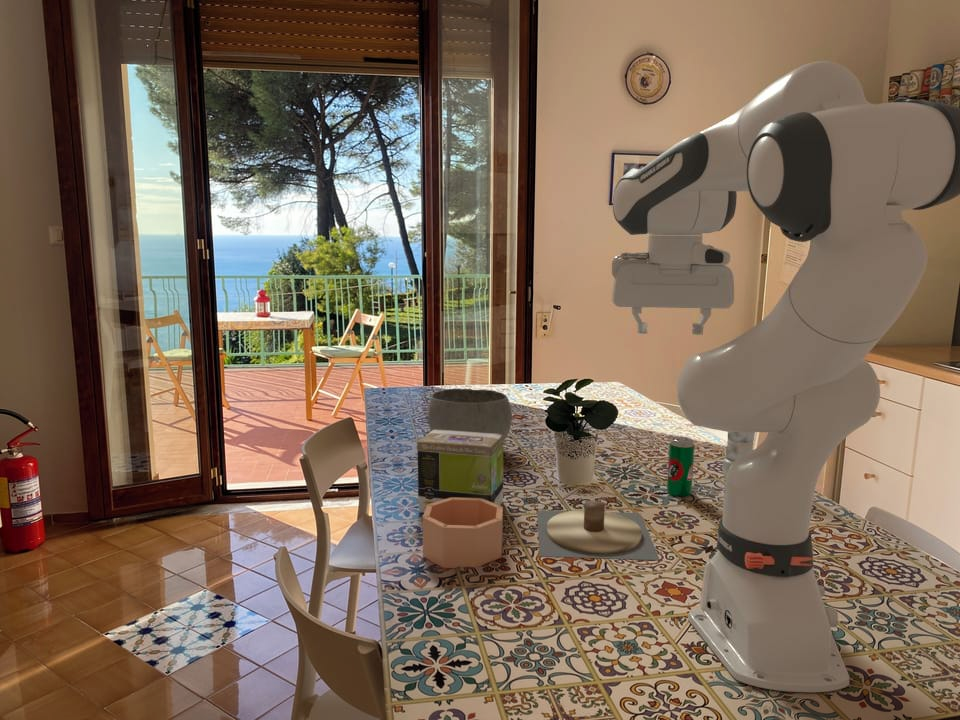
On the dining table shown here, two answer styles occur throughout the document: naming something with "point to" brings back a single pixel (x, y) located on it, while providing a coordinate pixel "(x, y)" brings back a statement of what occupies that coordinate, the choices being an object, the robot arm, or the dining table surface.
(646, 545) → the mat
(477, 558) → the pot
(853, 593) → the dining table surface
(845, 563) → the dining table surface
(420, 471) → the tea box
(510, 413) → the bowl
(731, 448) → the plastic bottle
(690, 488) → the soda can
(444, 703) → the dining table surface
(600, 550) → the lid
